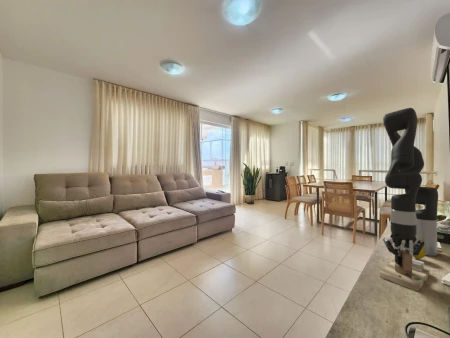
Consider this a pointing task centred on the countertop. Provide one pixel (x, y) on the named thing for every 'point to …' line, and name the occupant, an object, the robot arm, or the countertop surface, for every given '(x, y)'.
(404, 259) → the peg
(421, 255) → the lemon
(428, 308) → the countertop surface
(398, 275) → the tuner board
